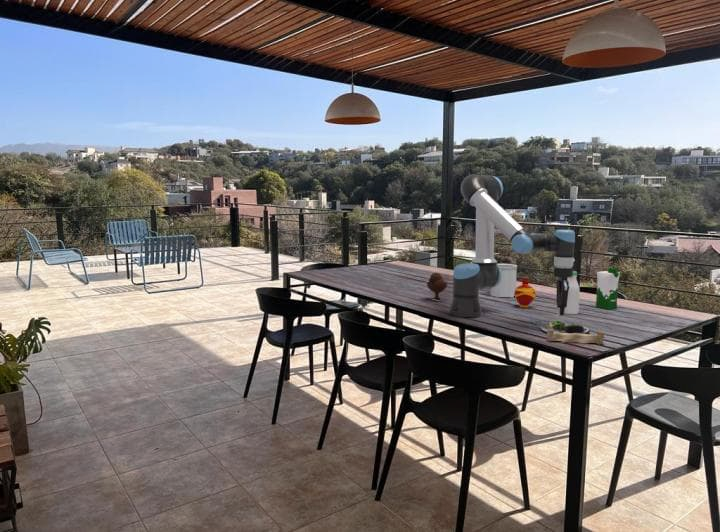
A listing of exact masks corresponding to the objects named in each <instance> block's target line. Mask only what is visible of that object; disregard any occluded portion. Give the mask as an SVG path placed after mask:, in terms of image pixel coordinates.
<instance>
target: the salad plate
mask: <svg viewBox="0 0 720 532" xmlns="http://www.w3.org/2000/svg"><path fill="white" fill-rule="evenodd" d="M536 326H537V327H538V328H541V330H542V331H544V332H545V333H547V329H553V333H569V334H589V333H590V332H591V330H590V328H588V327H587V326H583V325H580V324H578V323H577V324H576V323H571V324H567V323H565V322H564V323H562V322H559V321H557V320H555V321H552V322H551V321H549V322H548V324H546V325H545V324H541V323H537V324H536Z"/></svg>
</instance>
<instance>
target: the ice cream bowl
mask: <svg viewBox="0 0 720 532" xmlns="http://www.w3.org/2000/svg"><path fill="white" fill-rule="evenodd" d="M426 286H427V288H428V289H429V291H431V292H433V293H434V294H435V295H434V297H432V299H436V300H440V299H441V297H439V294H440V293H441V292H443V291H444V290H445V289H446V288H447V286H448V282H446V281H445V280H444V278H443V276H442V274H440V273H439V272H433V273H431V275H430V277H429V279H428V281H427V282H426Z"/></svg>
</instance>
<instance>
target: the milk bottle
mask: <svg viewBox="0 0 720 532" xmlns="http://www.w3.org/2000/svg"><path fill="white" fill-rule="evenodd" d="M577 277H578V272H577V271H576V270H573V276H572V277H568V278H567V279H568V282H569V285H568V286H569V291H568V299H567V307H565V314H566V315H578V314H579V310H580V307H579V306H580V286H579V283H578V280H577Z"/></svg>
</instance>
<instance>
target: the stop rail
mask: <svg viewBox="0 0 720 532" xmlns="http://www.w3.org/2000/svg"><path fill="white" fill-rule="evenodd" d="M546 333H547V334H546V341H547V340H548V341H562V342H561V343H565V342H578V343H577V344H585V343H597V344H596V345H600V344H603V345H604V339H605V333H604V331H602V330H597V331H596V334H589V333H588V334H569V333H553V329H547V332H546ZM548 341H547V342H548Z"/></svg>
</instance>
